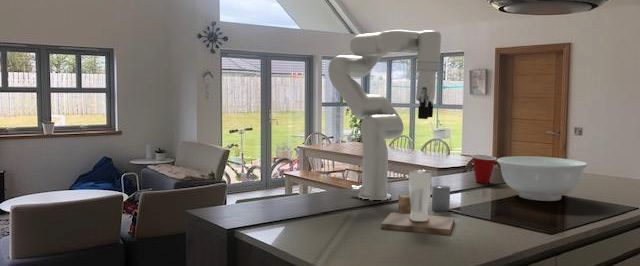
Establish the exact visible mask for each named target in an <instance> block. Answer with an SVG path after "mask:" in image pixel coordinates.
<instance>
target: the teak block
mask: <svg viewBox="0 0 640 266" xmlns="http://www.w3.org/2000/svg"><path fill="white" fill-rule="evenodd" d="M397 207H398V210H397V213H406V214H410V211H411V204H410V197H409V194H401V193H399V194H398V206H397Z"/></svg>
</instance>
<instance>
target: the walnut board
mask: <svg viewBox="0 0 640 266" xmlns="http://www.w3.org/2000/svg"><path fill="white" fill-rule="evenodd" d="M409 216H410V214H406V213H399V212H390V213H389V214H388V215H387V216H386V218H384V220H383V221H382V222H381V223H380V228H381V229H382V228H384V229H383V230H392V231H394V230H395V231H405V232H406V231H407V232H415V233H416V232H418V233H426V234H437V235H440V234H441V235H450V234H451V232H452V229H453V226H454V224H455V217H451V216H441V215H440V216H439V215H430V214H429V221H428V222H413V221H410V220H409Z"/></svg>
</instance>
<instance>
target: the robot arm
mask: <svg viewBox="0 0 640 266" xmlns="http://www.w3.org/2000/svg"><path fill="white" fill-rule="evenodd" d="M441 41H442V35H441V33H440V31H437V30H422V31H416V30H415V31H414V30H406V29H405V30H404V29H392V30H383V31H381V32H370V33H362V34H357V35H355V36H353V37H352V38H351V40H350V42H349V49H350V51H351V52H352V54H354V55H349V54H348V55H346V54H343V55H337V56H334V57H333V58H331V60H330V62H329V63H328V77H329V81H330V83H331V84H332V86H333V88H334V89H335V90H336V92H337V93H338V94H339V95H340V96H341V98H342V100H344V102H345V104H346V105H347V107H348V109H349V110H350V112H351V113H352V114H353V115H354V117H355V118H356V119H360V120H362V121H361V123H360V135H361V140H362V179H361V181H362V183H361V185H359V186H358V185H351V191H352V192H358V193H357V198H358V199H360V198H362V199H361V200H364V199H369V200H368V201H373V200H381V201H388V200H391V199H392V195H391V194H390V193H388V179H389V178H388V175H389V174H388V173H389V171H388V170H389V169H388V168H389V150H388V147H387V143H386V142H385V140H391V139H392V140H394V139H397V138H399V137H400V136H401V135H403V132H404V123H403V120H402V118H401V116H400V115H399V113H398V112H397V110H396V109H395V108H394V107H393V105H392V103H390V101H389V100H388V99H387V98H386V97H385V96H383V95H381V94H371V93H370V94H369V93H367V92H366V91H365V90H364V89H363V87H362V86H361V84H360V83H359V82H358V81H356V80H355V79H353V78H363V77H366V76H367V75H369V74H370V73H371V71H372V70H373V69H374V67H375V66H376V65H377V64H378V63H379V61H380V60H381V58H382V57H383V56H386V55H388V54H389V53H409V54H417V57H416V72H417V73H418V75H417V83H416V84H417V85H416V95H415V100H416V101H418V107H417V108H418V110H417V119H418V120H419V119H420V120H428V119H429V118H433V115H434V100H435V96H436V79H437V78H436V76H437V73H440V62H441V61H440V58H441V43H442V42H441ZM390 198H391V199H390ZM387 199H388V200H387Z"/></svg>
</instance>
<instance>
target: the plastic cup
mask: <svg viewBox="0 0 640 266" xmlns="http://www.w3.org/2000/svg"><path fill="white" fill-rule="evenodd" d="M471 158H472V163H473V171H474V176H475V177H474V178H475V183H477V182H480V183H479V184H489V183H490V181H491V177H492V173H493V168H494V164H495V162H496V161H497V159H498V158H497V157H495V156H491V155H485V154H471ZM488 182H489V183H488Z"/></svg>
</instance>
